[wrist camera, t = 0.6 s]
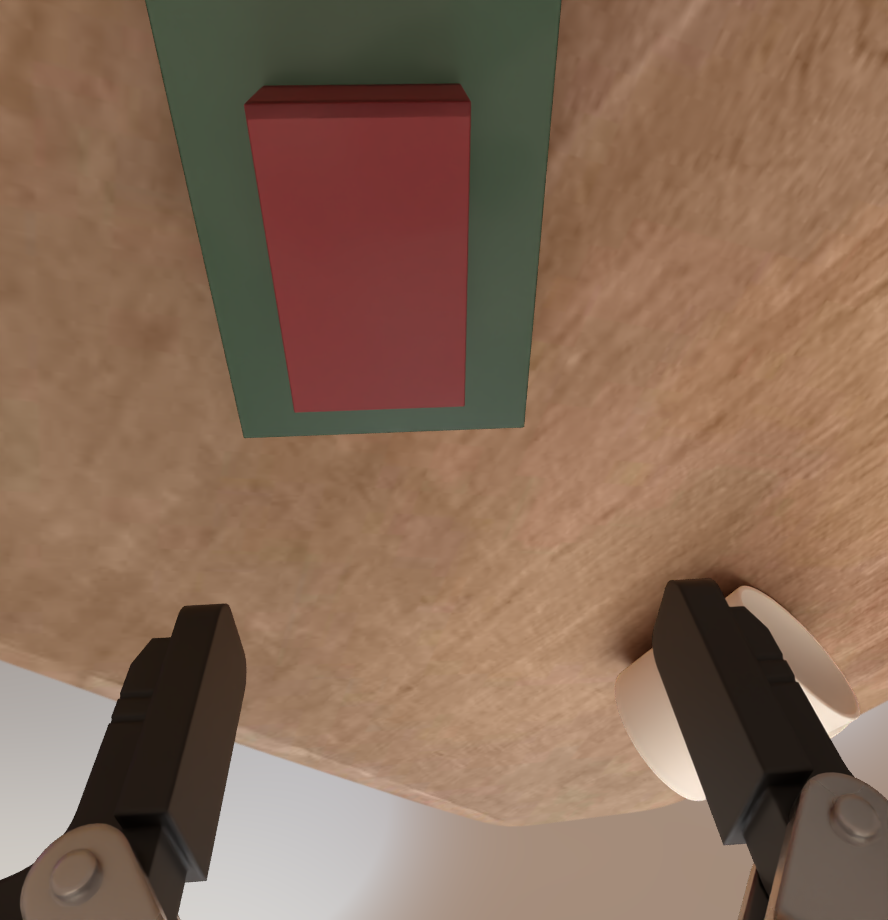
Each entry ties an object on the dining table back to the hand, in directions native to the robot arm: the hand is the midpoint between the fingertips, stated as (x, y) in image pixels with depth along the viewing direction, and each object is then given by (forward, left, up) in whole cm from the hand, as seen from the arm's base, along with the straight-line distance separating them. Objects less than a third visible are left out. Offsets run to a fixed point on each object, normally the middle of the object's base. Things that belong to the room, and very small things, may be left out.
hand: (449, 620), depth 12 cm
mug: (+24, +17, -17) cm, 34 cm away
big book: (-2, -2, -16) cm, 17 cm away
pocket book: (-2, -2, -13) cm, 14 cm away
